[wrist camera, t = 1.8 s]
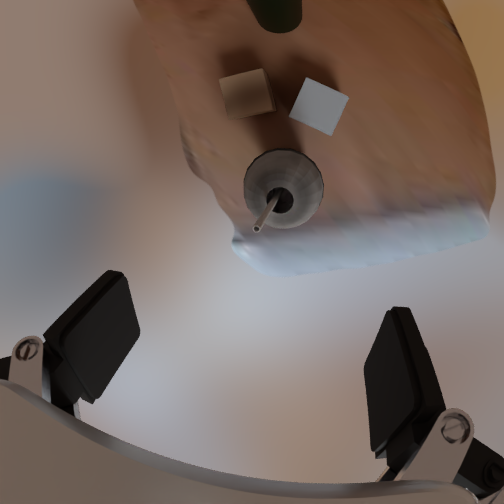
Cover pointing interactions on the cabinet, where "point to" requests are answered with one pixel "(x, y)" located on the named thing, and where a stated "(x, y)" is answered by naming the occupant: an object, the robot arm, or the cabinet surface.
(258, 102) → the walnut block
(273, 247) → the cabinet surface
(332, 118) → the light grey cube
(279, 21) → the wine bottle
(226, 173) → the cabinet surface
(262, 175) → the beverage cup
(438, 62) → the cabinet surface
